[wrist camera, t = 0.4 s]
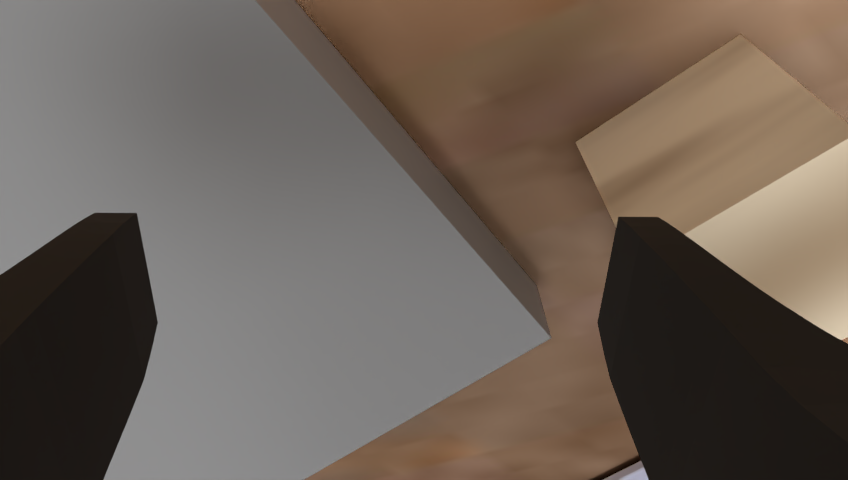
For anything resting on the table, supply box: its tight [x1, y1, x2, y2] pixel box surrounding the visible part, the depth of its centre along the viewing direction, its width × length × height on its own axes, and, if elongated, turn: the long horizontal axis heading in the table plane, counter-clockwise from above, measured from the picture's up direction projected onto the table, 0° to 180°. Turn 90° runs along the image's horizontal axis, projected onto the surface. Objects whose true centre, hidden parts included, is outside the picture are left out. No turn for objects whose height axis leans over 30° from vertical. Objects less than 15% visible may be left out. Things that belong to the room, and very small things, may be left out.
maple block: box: [576, 34, 848, 340], centre depth 20 cm, size 5×5×6 cm
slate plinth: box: [0, 0, 551, 480], centre depth 22 cm, size 16×16×2 cm
